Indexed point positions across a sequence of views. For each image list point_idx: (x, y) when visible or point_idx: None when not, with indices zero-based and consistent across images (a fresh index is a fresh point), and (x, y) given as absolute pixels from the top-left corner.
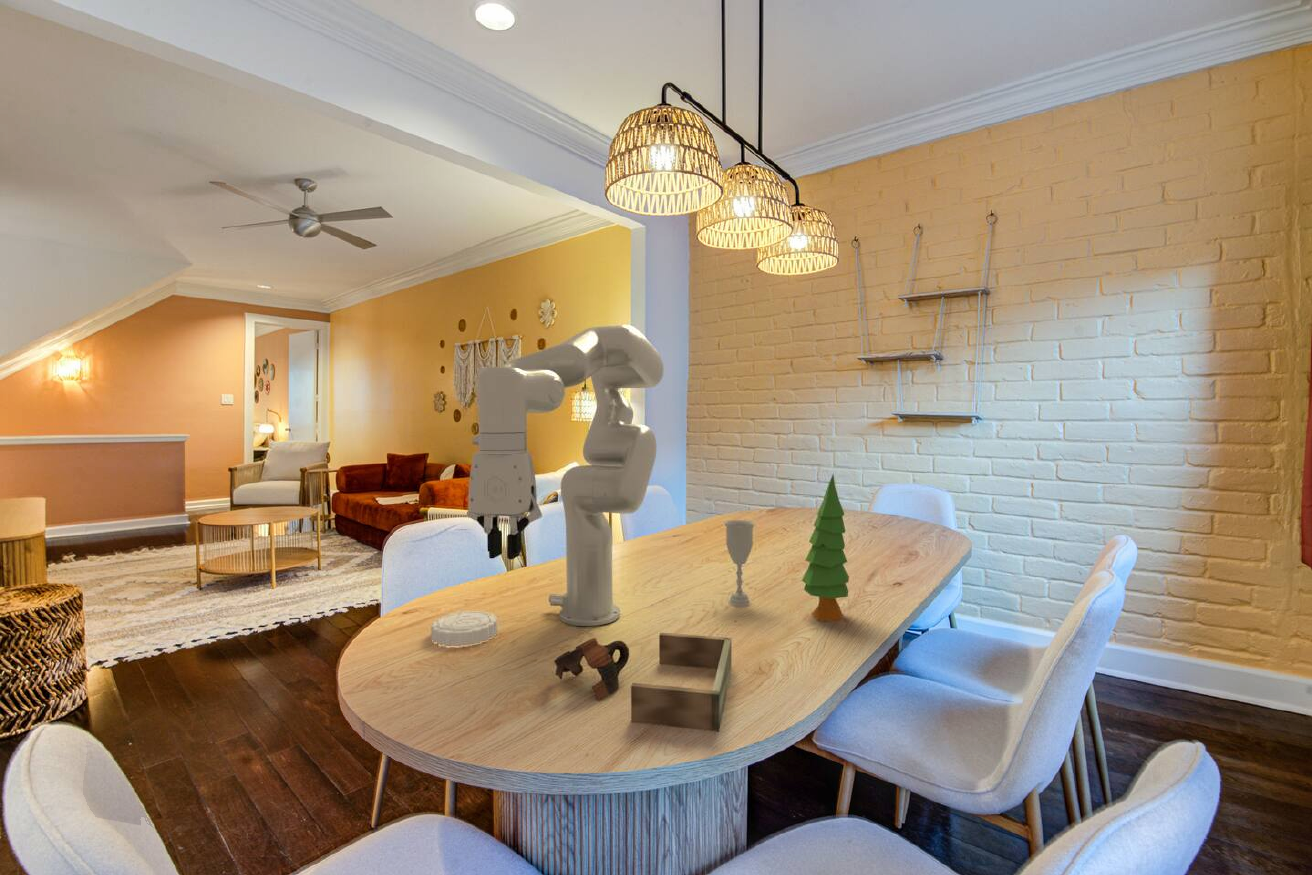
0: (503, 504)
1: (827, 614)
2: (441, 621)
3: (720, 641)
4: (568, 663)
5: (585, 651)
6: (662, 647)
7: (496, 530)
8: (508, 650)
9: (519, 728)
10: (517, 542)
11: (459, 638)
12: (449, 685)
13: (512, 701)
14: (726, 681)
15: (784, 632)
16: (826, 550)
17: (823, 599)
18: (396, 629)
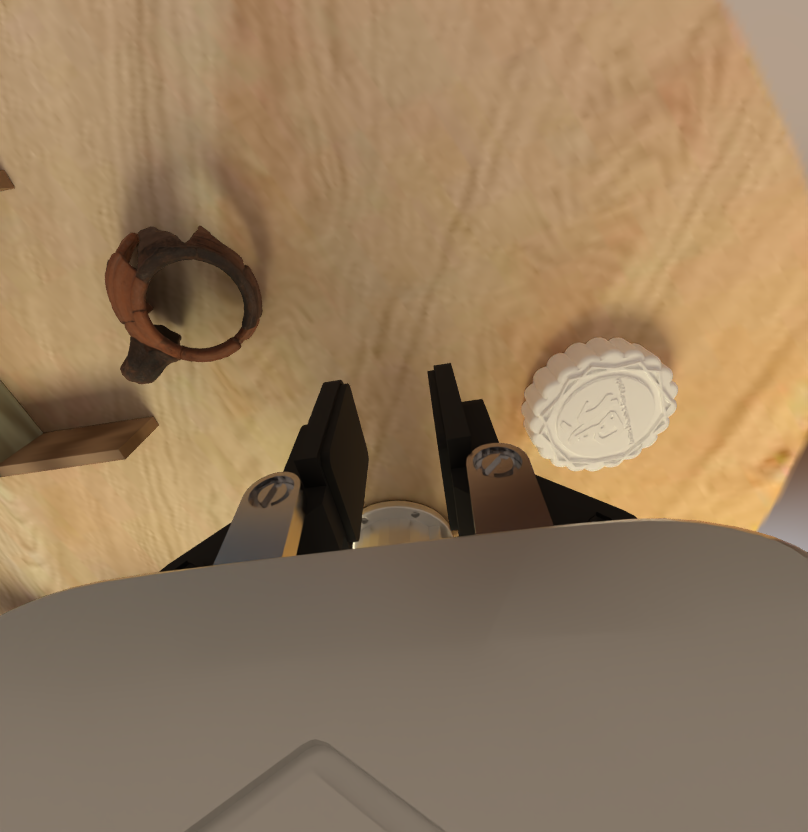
0: (163, 722)
1: None
2: (658, 398)
3: (6, 464)
4: (168, 242)
5: (132, 279)
6: (129, 435)
7: (455, 505)
8: (457, 372)
9: (178, 22)
10: (292, 459)
11: (576, 355)
12: (481, 166)
13: (291, 152)
14: None
15: (73, 571)
16: None
17: None
18: (766, 379)
